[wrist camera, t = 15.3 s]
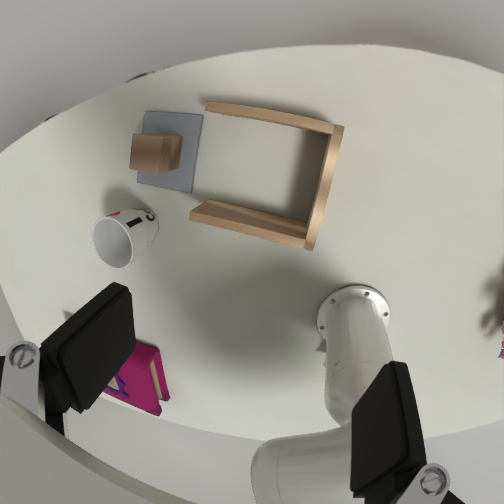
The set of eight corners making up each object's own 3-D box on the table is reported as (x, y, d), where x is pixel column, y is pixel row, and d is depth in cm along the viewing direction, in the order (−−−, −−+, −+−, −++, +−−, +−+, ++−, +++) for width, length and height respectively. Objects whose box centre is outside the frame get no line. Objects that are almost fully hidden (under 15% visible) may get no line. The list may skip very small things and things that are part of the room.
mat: (192, 192, 42) (190, 193, 41) (139, 182, 43) (137, 182, 42) (203, 115, 37) (201, 115, 36) (147, 111, 38) (145, 111, 37)
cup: (170, 208, 44) (135, 227, 35) (163, 251, 47) (131, 277, 38) (130, 195, 44) (92, 210, 35) (126, 236, 48) (91, 258, 39)
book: (74, 313, 62) (56, 328, 56) (160, 345, 58) (144, 367, 51) (93, 366, 71) (80, 382, 64) (171, 399, 66) (159, 419, 59)
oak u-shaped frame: (313, 233, 40) (312, 251, 34) (208, 207, 42) (189, 219, 36) (339, 129, 34) (344, 126, 27) (224, 106, 36) (206, 101, 29)
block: (178, 168, 40) (158, 173, 35) (151, 163, 41) (129, 168, 35) (183, 136, 38) (163, 137, 33) (155, 133, 39) (132, 134, 33)
